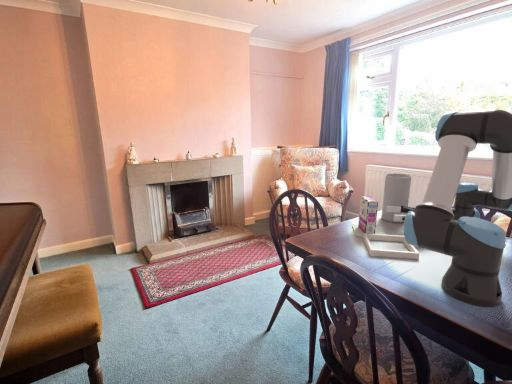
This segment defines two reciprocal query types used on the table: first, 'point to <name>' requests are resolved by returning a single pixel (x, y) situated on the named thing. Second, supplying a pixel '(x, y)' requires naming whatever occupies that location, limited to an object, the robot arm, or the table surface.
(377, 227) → the mat
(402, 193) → the cylinder vase
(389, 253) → the square wooden frame
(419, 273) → the table surface
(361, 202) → the candy bar box
